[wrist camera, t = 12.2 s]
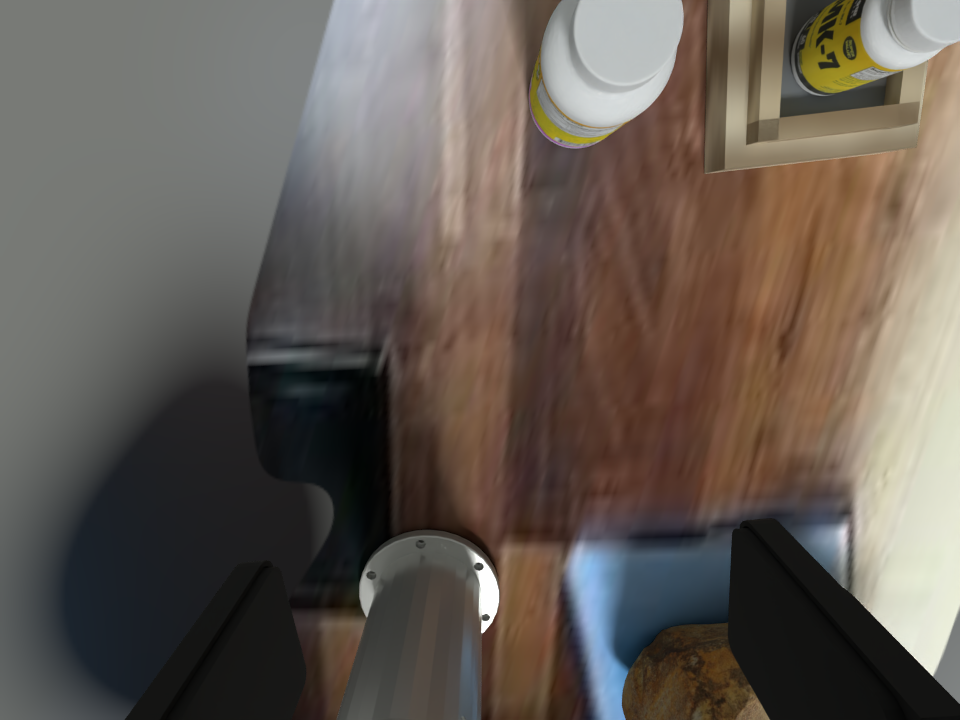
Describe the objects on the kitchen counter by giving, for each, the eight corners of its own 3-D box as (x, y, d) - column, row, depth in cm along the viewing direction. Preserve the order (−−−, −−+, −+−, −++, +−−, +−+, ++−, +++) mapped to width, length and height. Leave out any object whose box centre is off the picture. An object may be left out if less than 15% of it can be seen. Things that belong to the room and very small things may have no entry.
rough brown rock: (895, 601, 45) (1092, 764, 30) (827, 743, 48) (976, 954, 33) (656, 543, 44) (737, 680, 30) (603, 691, 47) (653, 881, 33)
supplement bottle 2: (795, 8, 28) (918, -77, 20) (876, 6, 28) (1032, -80, 20) (781, 98, 30) (892, 53, 22) (859, 97, 30) (999, 51, 21)
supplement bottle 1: (586, 17, 31) (652, -115, 19) (644, 104, 33) (740, 34, 20) (506, 90, 33) (519, 11, 20) (565, 171, 34) (610, 143, 22)
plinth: (879, 153, 33) (936, 144, 29) (704, 173, 34) (735, 166, 30) (902, -53, 30) (971, -97, 26) (708, -27, 31) (744, -67, 26)
